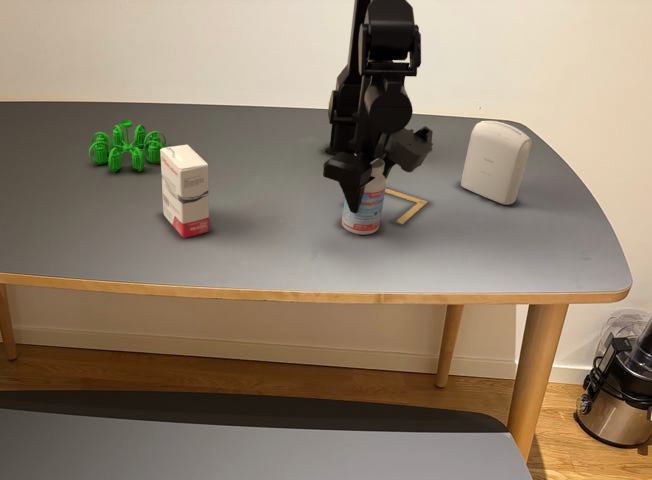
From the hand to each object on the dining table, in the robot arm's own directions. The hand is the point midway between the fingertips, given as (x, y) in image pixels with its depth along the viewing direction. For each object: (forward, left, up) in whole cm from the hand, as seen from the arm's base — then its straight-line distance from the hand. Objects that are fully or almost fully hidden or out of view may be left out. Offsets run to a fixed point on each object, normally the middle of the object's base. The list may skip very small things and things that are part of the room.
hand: (364, 205), depth 117 cm
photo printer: (+12, +23, -4) cm, 27 cm away
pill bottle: (0, 0, -4) cm, 4 cm away
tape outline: (0, +8, -4) cm, 9 cm away
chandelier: (-47, -5, -4) cm, 47 cm away
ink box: (-23, -17, -4) cm, 29 cm away
